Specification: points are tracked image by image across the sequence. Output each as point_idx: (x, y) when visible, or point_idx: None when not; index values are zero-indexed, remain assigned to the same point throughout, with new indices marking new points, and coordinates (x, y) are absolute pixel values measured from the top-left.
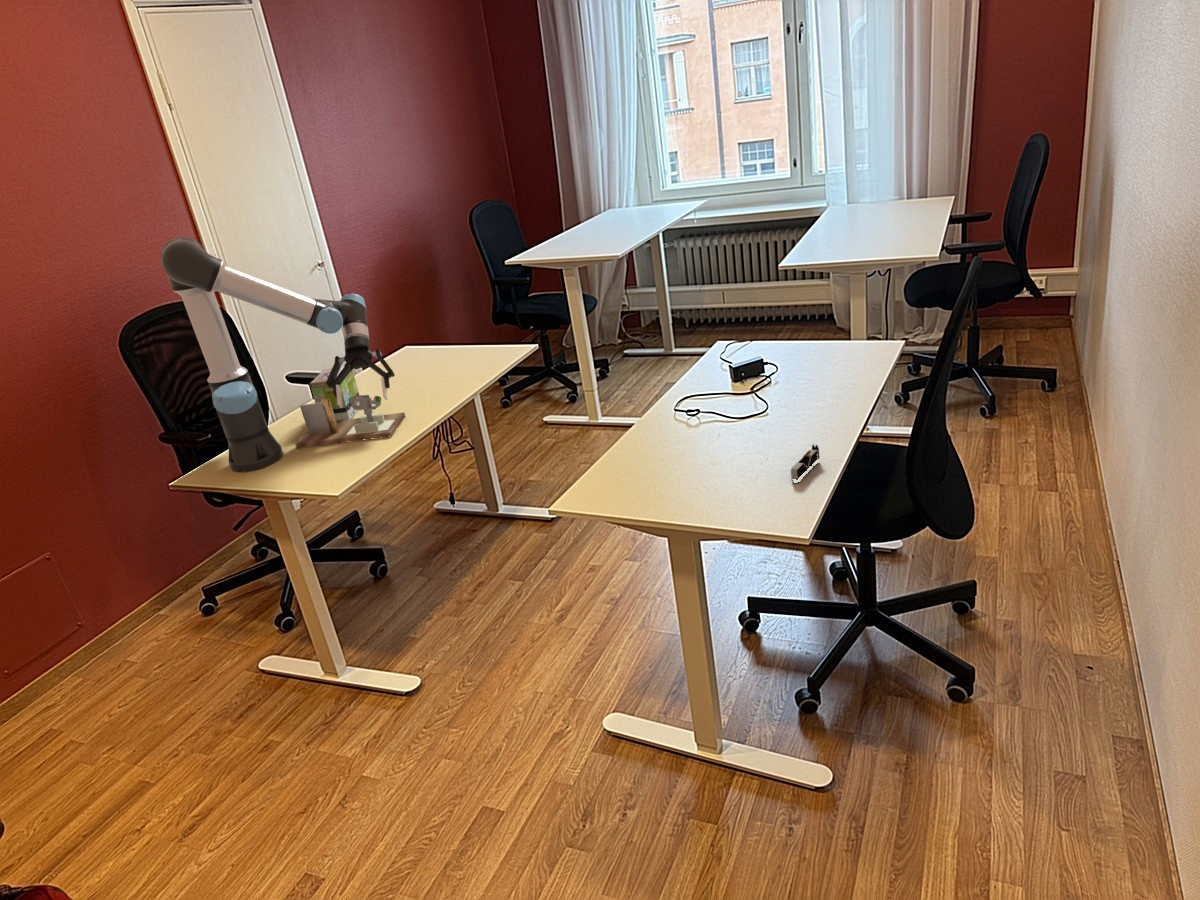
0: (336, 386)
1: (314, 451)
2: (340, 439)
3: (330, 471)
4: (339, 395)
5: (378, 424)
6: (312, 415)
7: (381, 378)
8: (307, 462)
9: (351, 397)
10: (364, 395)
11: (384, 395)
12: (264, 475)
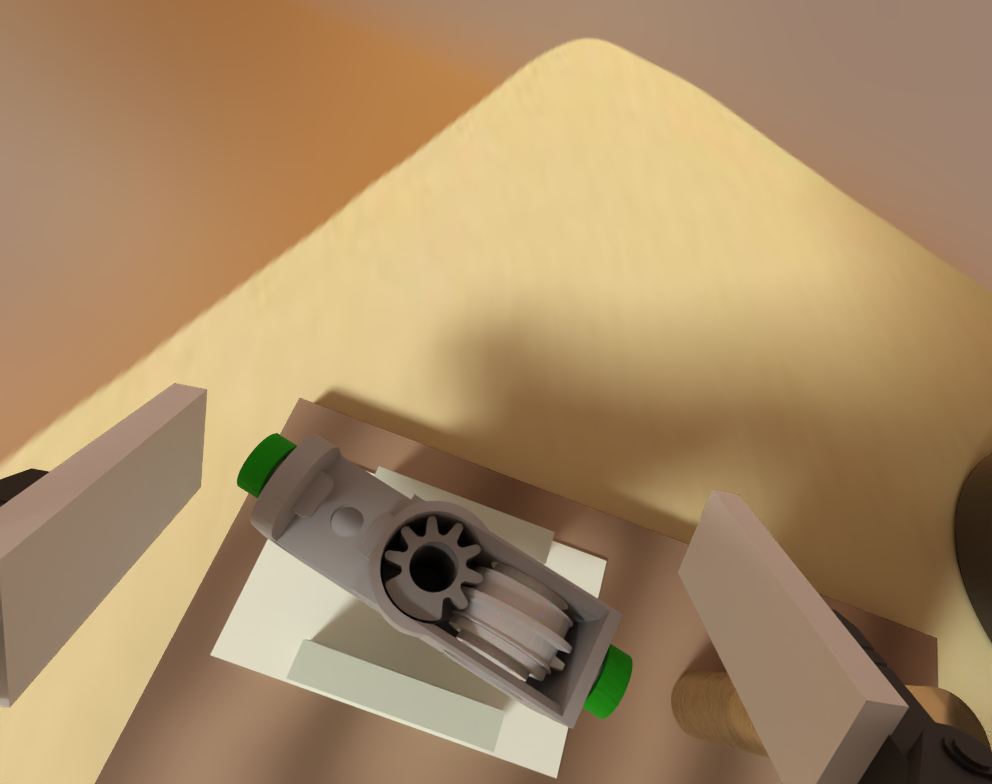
0: (878, 678)
1: (778, 506)
2: (640, 529)
3: (641, 192)
4: (758, 559)
5: (360, 623)
6: None
7: (19, 534)
8: (778, 367)
9: (600, 654)
10: (428, 626)
11: (186, 385)
12: (949, 352)
